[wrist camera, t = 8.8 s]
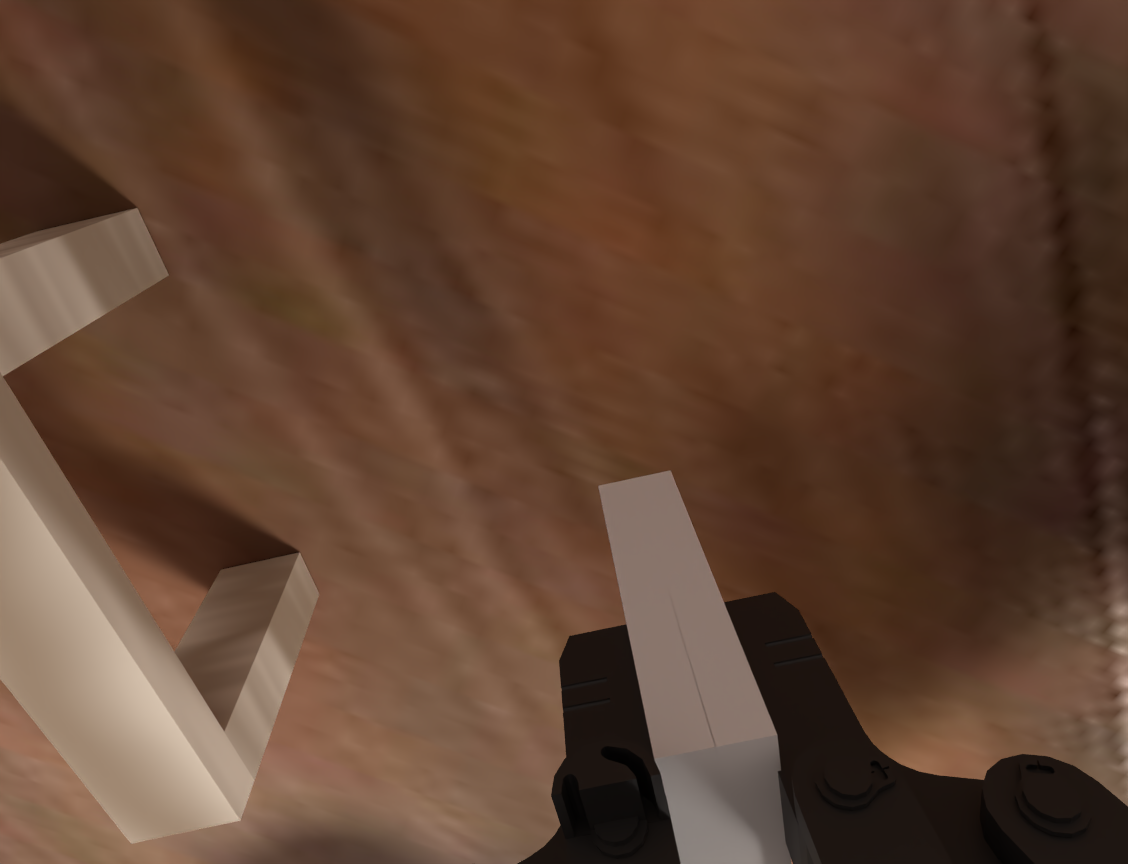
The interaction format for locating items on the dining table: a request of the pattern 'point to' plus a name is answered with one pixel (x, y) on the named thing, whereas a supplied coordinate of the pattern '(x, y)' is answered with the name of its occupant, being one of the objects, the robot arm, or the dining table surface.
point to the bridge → (124, 586)
